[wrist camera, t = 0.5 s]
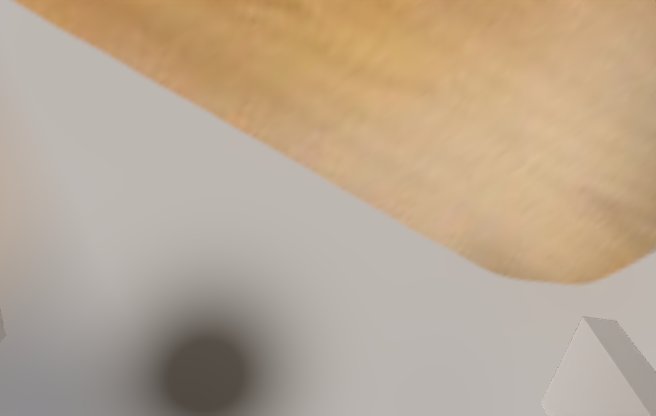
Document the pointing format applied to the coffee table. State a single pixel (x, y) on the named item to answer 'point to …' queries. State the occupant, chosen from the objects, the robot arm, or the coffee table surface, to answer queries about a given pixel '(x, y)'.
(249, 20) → the coffee table surface
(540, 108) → the coffee table surface
